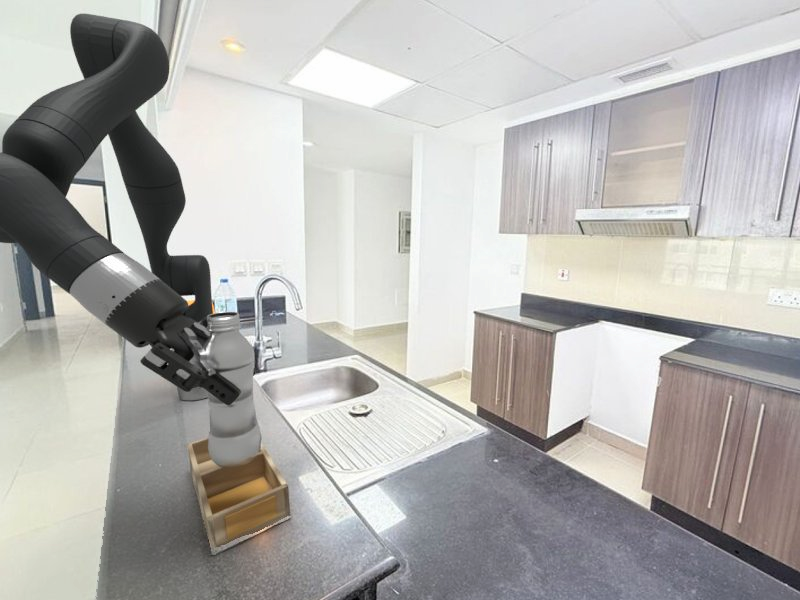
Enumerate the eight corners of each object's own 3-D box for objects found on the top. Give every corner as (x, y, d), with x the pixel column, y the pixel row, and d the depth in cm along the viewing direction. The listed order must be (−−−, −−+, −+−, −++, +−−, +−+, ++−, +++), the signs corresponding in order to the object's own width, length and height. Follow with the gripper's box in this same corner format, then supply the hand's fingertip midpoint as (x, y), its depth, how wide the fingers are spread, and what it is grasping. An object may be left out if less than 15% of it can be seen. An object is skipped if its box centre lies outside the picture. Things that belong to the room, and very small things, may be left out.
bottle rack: (190, 471, 58) (187, 443, 57) (252, 450, 64) (249, 424, 63) (212, 558, 43) (207, 522, 42) (291, 519, 48) (288, 487, 47)
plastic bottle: (247, 440, 53) (235, 307, 49) (272, 457, 48) (261, 313, 45) (201, 461, 48) (183, 315, 44) (225, 483, 43) (208, 324, 40)
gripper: (113, 286, 36) (247, 391, 39) (182, 271, 50) (276, 349, 53) (64, 339, 36) (201, 438, 39) (146, 309, 50) (242, 384, 54)
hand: (244, 387), depth 46 cm, fingers closed on plastic bottle, 6 cm apart
